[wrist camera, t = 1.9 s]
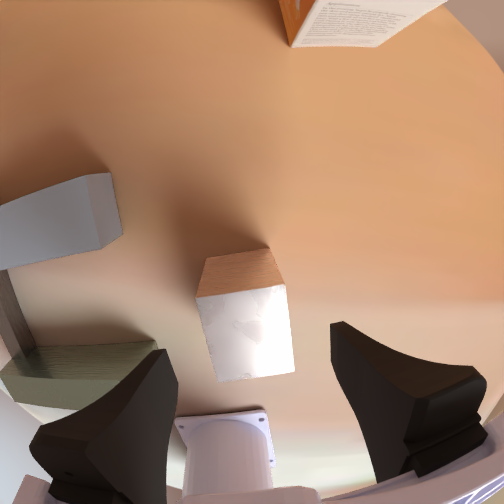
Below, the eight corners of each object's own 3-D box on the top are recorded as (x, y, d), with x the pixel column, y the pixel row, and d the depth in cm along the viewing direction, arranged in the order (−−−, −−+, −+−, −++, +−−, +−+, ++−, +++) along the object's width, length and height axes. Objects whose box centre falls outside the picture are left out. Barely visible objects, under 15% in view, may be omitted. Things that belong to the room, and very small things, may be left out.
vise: (166, 372, 21) (155, 412, 17) (36, 373, 21) (14, 401, 17) (105, 127, 16) (71, 118, 12) (-27, 184, 16) (-63, 191, 12)
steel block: (278, 317, 20) (294, 371, 15) (221, 326, 20) (217, 382, 15) (269, 247, 19) (285, 284, 13) (206, 257, 19) (195, 298, 13)
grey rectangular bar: (123, 233, 18) (101, 248, 14) (-11, 264, 18) (-36, 279, 14) (110, 172, 17) (85, 174, 13) (-22, 219, 16) (-49, 228, 13)
